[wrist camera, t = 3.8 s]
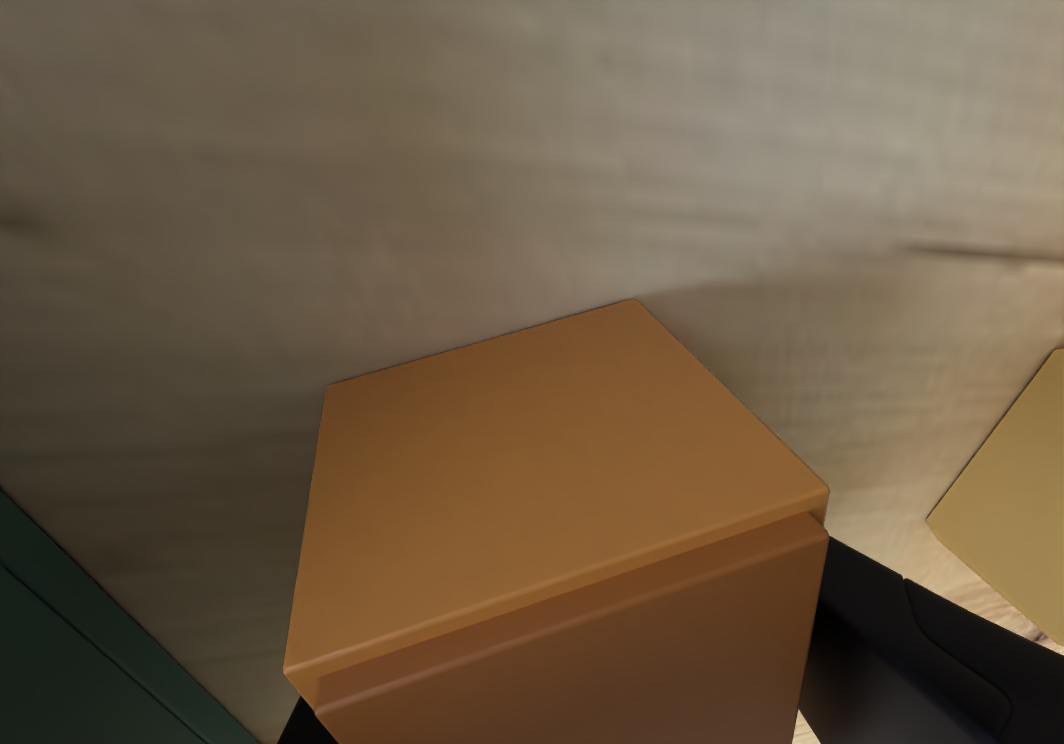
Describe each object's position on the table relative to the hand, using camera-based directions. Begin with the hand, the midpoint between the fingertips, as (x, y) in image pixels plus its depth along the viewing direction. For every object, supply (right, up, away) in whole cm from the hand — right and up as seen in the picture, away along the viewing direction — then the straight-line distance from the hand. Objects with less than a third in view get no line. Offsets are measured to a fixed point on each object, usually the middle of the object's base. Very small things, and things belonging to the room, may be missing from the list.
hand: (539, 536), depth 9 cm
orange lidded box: (0, 0, +1) cm, 1 cm away
